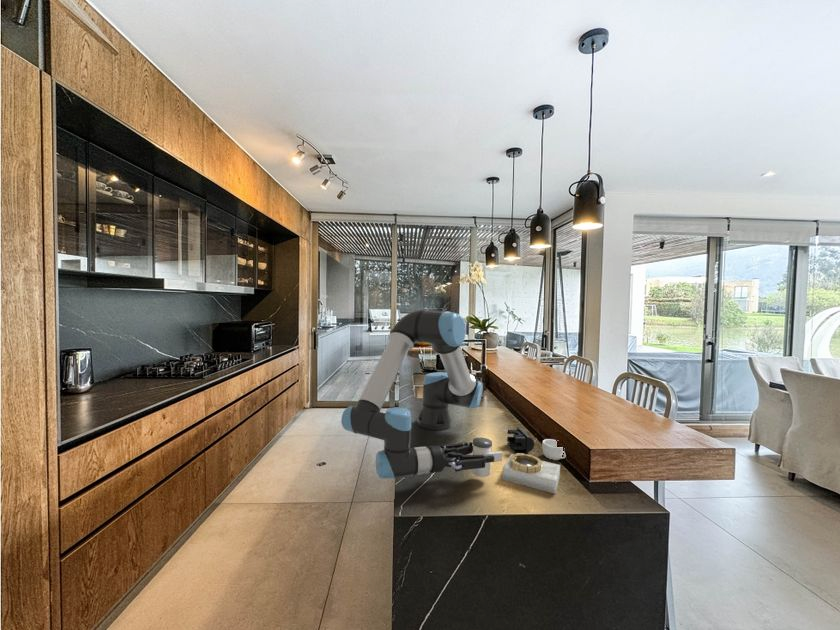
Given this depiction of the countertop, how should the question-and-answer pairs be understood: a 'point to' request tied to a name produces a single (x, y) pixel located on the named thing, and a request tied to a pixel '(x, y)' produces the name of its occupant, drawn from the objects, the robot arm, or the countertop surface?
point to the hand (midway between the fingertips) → (496, 451)
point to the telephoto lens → (479, 449)
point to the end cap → (520, 441)
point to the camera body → (532, 472)
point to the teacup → (552, 449)
